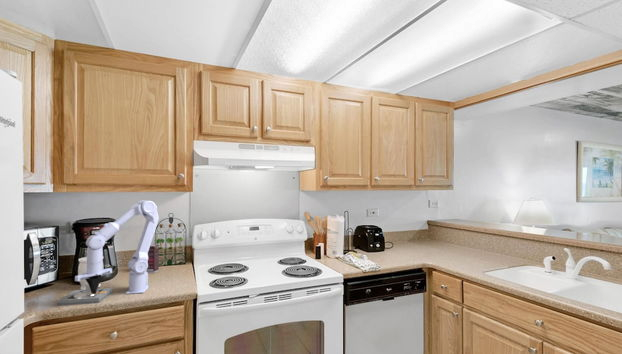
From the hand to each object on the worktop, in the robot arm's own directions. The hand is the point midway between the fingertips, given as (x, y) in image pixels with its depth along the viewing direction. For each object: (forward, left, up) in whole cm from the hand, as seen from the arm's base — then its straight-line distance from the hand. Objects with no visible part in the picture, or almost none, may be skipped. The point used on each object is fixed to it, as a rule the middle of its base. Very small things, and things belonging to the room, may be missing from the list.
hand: (93, 293), depth 133 cm
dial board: (-4, -5, -4) cm, 7 cm away
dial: (-4, -5, -2) cm, 7 cm away
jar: (-20, -11, -4) cm, 23 cm away
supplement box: (-44, +9, -4) cm, 45 cm away
